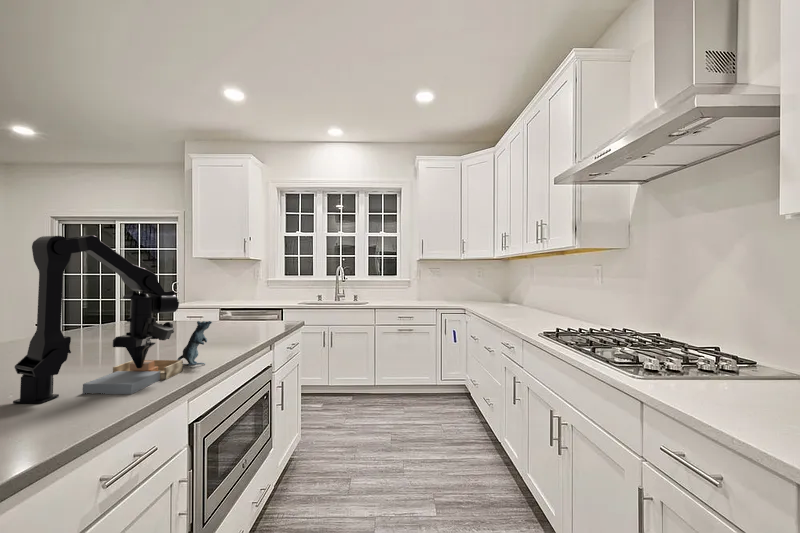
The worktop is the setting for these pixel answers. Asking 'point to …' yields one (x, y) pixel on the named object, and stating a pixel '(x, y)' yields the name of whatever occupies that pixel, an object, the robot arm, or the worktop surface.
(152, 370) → the tile far
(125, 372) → the slate board
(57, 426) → the worktop surface
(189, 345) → the sculpture
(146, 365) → the tile near
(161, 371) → the tray
